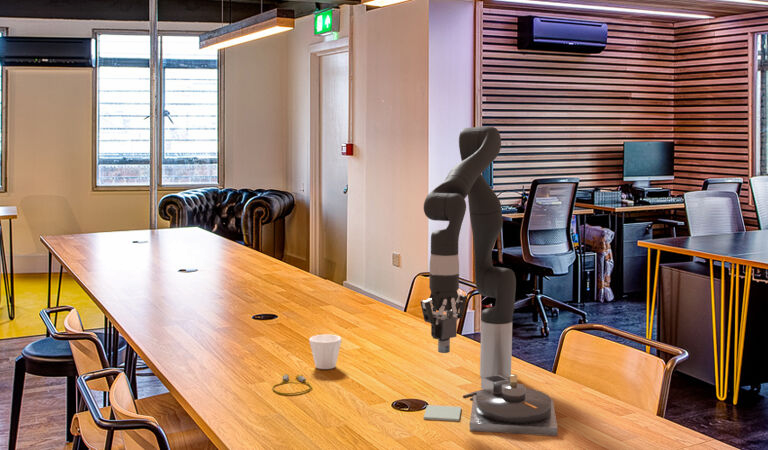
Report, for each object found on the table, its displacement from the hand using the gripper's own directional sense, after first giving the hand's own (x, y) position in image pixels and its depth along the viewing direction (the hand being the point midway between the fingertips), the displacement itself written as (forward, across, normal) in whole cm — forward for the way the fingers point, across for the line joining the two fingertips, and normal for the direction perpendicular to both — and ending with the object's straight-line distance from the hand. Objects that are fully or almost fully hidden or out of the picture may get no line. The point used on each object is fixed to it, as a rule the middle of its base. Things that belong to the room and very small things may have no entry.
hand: (443, 336), depth 201 cm
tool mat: (+21, 0, 0) cm, 21 cm away
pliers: (+21, -23, -5) cm, 32 cm away
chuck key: (+4, 0, 0) cm, 4 cm away
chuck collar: (+18, -13, +12) cm, 25 cm away
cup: (+21, +3, -53) cm, 57 cm away
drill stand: (+21, -13, +13) cm, 27 cm away
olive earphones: (+21, +20, -42) cm, 52 cm away
